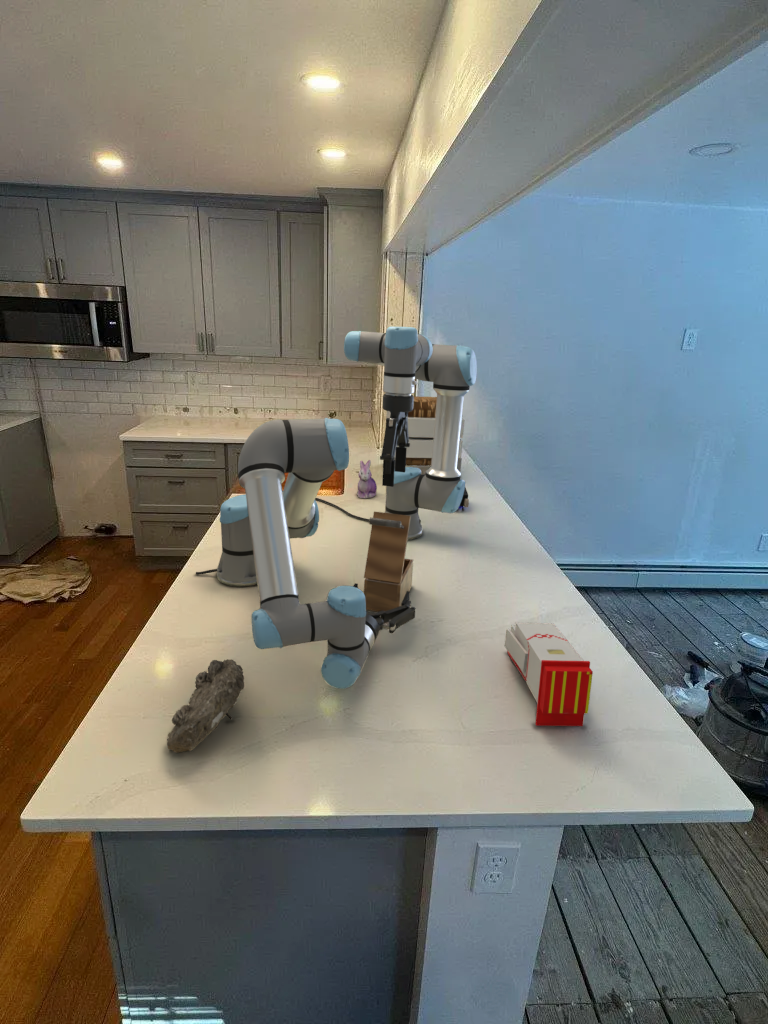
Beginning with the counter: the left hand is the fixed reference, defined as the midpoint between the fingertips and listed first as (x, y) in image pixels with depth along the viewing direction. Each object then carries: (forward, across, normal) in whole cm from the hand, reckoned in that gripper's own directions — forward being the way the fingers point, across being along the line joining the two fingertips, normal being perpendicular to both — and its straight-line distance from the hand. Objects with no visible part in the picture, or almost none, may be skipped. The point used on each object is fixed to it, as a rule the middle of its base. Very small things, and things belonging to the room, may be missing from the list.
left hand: (381, 592), depth 145 cm
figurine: (+94, -30, -6) cm, 98 cm away
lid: (+6, 0, +10) cm, 12 cm away
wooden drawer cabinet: (+136, -14, -6) cm, 137 cm away
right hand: (+9, 0, +28) cm, 29 cm away
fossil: (-47, -22, -7) cm, 52 cm away
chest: (+10, 0, -7) cm, 12 cm away
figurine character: (+93, +9, -7) cm, 93 cm away
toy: (-18, +40, -7) cm, 44 cm away
